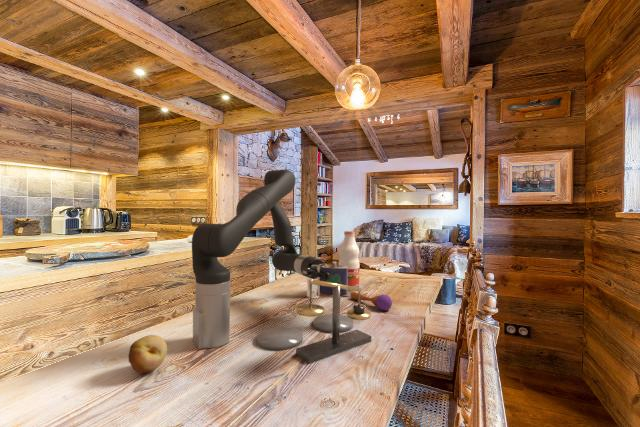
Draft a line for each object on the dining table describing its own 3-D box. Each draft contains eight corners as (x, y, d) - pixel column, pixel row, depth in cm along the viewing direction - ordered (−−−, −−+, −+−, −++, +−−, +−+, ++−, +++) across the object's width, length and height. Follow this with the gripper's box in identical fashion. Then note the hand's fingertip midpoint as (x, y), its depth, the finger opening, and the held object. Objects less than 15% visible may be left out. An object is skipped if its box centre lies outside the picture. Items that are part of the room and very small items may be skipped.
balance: (306, 366, 74) (307, 283, 74) (290, 354, 80) (292, 278, 80) (375, 340, 89) (376, 272, 89) (358, 332, 95) (359, 268, 95)
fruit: (123, 382, 66) (124, 345, 66) (135, 363, 74) (135, 330, 74) (162, 377, 68) (163, 342, 68) (169, 360, 76) (170, 327, 76)
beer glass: (319, 299, 129) (320, 263, 129) (303, 297, 131) (304, 262, 130) (322, 294, 136) (323, 260, 136) (307, 293, 138) (308, 259, 137)
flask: (347, 293, 102) (348, 261, 101) (347, 295, 99) (348, 263, 99) (319, 292, 103) (320, 260, 102) (319, 294, 100) (319, 262, 99)
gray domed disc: (270, 354, 80) (270, 350, 80) (249, 337, 90) (249, 333, 90) (311, 342, 88) (311, 338, 88) (287, 327, 98) (287, 323, 98)
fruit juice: (350, 290, 144) (351, 230, 144) (363, 295, 136) (364, 231, 136) (333, 292, 139) (334, 230, 139) (346, 298, 131) (347, 232, 131)
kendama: (359, 288, 133) (395, 296, 117) (357, 302, 132) (394, 312, 116) (349, 287, 130) (385, 295, 114) (347, 302, 129) (383, 312, 113)
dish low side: (330, 336, 92) (330, 332, 92) (305, 322, 102) (305, 319, 102) (361, 326, 100) (361, 323, 100) (335, 315, 110) (335, 311, 110)
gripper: (292, 257, 108) (320, 265, 95) (324, 254, 116) (354, 261, 103) (291, 279, 108) (320, 290, 95) (323, 274, 117) (354, 283, 104)
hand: (338, 275), depth 99 cm, fingers closed on flask, 7 cm apart
